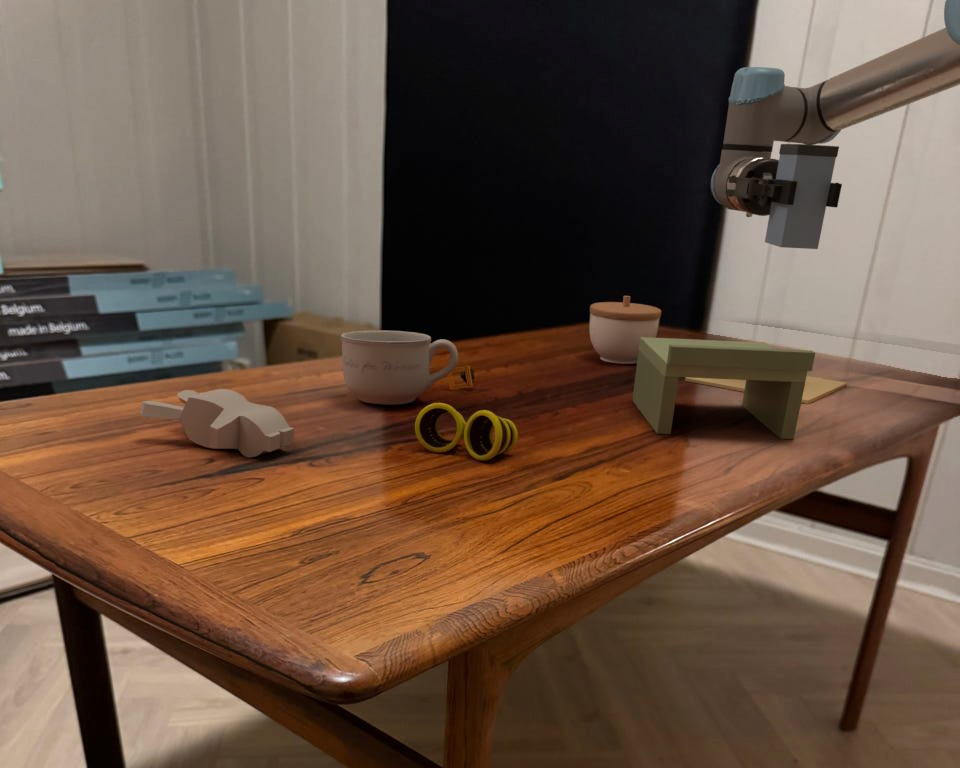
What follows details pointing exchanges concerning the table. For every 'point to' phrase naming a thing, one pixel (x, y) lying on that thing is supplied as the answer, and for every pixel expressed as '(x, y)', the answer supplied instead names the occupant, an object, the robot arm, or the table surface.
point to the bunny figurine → (225, 421)
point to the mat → (812, 391)
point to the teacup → (391, 365)
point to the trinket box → (621, 329)
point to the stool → (765, 369)
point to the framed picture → (463, 377)
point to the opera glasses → (466, 432)
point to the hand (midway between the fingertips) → (814, 194)
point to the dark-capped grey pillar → (802, 195)
